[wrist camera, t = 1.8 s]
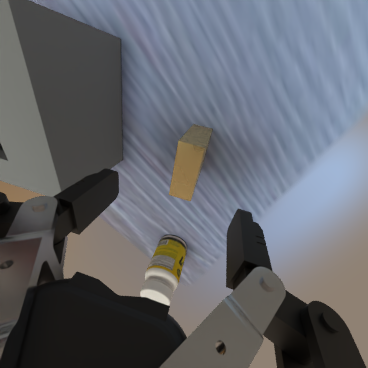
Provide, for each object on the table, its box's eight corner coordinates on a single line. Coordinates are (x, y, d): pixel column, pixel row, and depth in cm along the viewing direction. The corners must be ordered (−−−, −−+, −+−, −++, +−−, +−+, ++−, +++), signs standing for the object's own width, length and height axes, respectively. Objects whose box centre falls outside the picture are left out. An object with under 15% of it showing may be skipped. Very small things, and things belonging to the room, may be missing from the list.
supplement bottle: (184, 257, 29) (169, 313, 22) (158, 248, 29) (136, 300, 22) (190, 239, 26) (175, 297, 19) (161, 230, 26) (137, 283, 19)
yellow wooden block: (193, 123, 17) (178, 140, 12) (212, 128, 17) (205, 148, 12) (184, 166, 20) (168, 194, 15) (200, 171, 19) (190, 201, 14)
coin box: (5, 13, 16) (-200, -51, 8) (120, 38, 15) (5, -10, 7) (41, 136, 22) (-55, 162, 15) (122, 160, 21) (63, 201, 14)
